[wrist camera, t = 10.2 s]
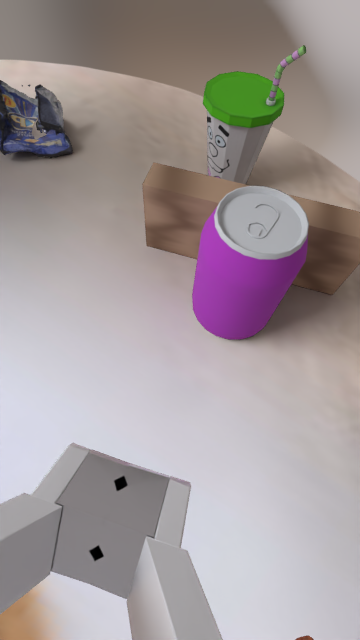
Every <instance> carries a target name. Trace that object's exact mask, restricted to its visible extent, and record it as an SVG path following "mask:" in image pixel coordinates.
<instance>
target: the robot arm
mask: <svg viewBox="0 0 360 640" xmlns="http://www.w3.org/2000/svg"><path fill="white" fill-rule="evenodd" d="M190 489H191V484H190V482H187V481H184V480H181V479H178V478H175V477H172V476H170V478H169V476H168V475H165V474H162V473H159V472H156V471H153V470H150V469H146V468H143V467H140V466H137V465H134V464H131V463H128V462H125V461H122V460H120V459H117V458H114V457H111V456H109V455H106V454H103V453H100V452H98V451H95V450H90V449H88V448H85V447H82V446H80V445H77V444H75V443H72V444H70V445H69V446H67V448H66V449H65V450H64V452H63V453H62V454H61V456H60V457H59V458H58V459H57V461H56V462H55V463H54V465H53V466H52V467H51V469H50V470H49V471H48V473H47V474H46V475H45V477H44V478H43V479H42V481H41V482H40V483H39V484H38V486H37V487H36V488H35V490H34V491H33V492H32V494H31V495H29V494H26V493H23V494H21V495H18V496H16V497H14V498H12V499H10V500H8V501H6V502H3V503H1V504H0V614H1V613H2V612H4V611H5V610H6V609H7V608H9V607H10V606H11V605H12V604H14V603H15V602H16V601H17V600H18V599H20V598H21V597H22V596H23V595H25V594H26V593H27V592H28V591H30V590H31V589H32V588H33V587H35V586H36V585H37V584H38V583H40V582H41V581H42V580H43V579H45V578H46V577H47V576H48V575H49V574H50V571H52V572H55V573H58V574H61V575H64V576H67V577H70V578H73V579H76V580H79V581H82V582H85V583H88V584H89V583H90V584H91V585H93V586H96V587H98V588H100V589H103V590H105V591H108V592H110V593H113V594H115V595H118V596H120V597H122V598H125V599H127V608H128V614H129V621H130V627H131V634H132V640H223V639H222V637H221V634H220V632H219V629H218V627H217V624H216V622H215V619H214V617H213V614H212V612H211V609H210V606H209V604H208V601H207V599H206V596H205V594H204V591H203V589H202V586H201V584H200V581H199V579H198V576H197V574H196V571H195V569H194V566H193V564H192V561H191V559H190V556H189V554H188V551H187V550H184V549H182V548H181V543H182V537H183V531H184V525H185V519H186V513H187V507H188V501H189V495H190Z"/></svg>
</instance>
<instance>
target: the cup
mask: <svg viewBox="0 0 360 640" xmlns="http://www.w3.org/2000/svg"><path fill="white" fill-rule="evenodd" d="M305 53H306V47H305V46H304V45H303V46H302V47H301V48H299V49H298V50H296V51H295V52H294V53H292V54H291V55H289V56H288V57H287V58H285V59H284V60H283V61H281V62H280V64H279V65H278V67H277V70H276V73H275V77H274V80H273V81H271V80H269V79H267V78H265V77H262V76H260V75H258V74H252V73H245V72H238V71H237V72H231V73H224V74H219V75H217V76H216V77H215V78H213V79H211V80H210V81H208V82H207V84H206V88H205V92H204V98H203V105H204V106H205V108H206V109H207V147H208V176H212V177H216V178H221V179H225V180H229V181H233V182H237V183H242V184H246V183H247V180H248V178H249V176H250V174H251V171H252V169H253V167H254V165H255V162H256V160H257V158H258V155H259V153H260V151H261V149H262V146H263V144H264V142H265V140H266V137H267V135H268V133H269V131H270V128H271V126H272V124H273V121H274V120H275V119H277V118H278V117H279V116H280V115H281V112H282V109H283V106H284V93H283V91H282V90H281V89H280V88H279V87H278V85H279V82H280V78H281V75H282V71H283V70H284V68H285V67H286V66H287V65H289V64H290V63H291V62H293V61H294V60H296V59H297V58H299V57H300V56H302V55H303V54H305Z"/></svg>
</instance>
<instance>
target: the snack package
mask: <svg viewBox="0 0 360 640" xmlns="http://www.w3.org/2000/svg"><path fill="white" fill-rule="evenodd" d="M22 86H23V85H22ZM28 86H30V85H28ZM35 92H36V97H35V99H33V98H30V97H28V96H26V94H25V95H24V93H22V92H19V91H17V90H16V89H13V88H11V87H10V86H8V85H7V84H6V83H4V82H3V81H1V80H0V151H1V152H2V153H3V154H4V155H6V154H9V153H14V152H19V151H23V152H32V153H34V154H36V155H37V156H38V157H43V156H45V157H50V158H52V157H58V156H61V155H64V154H70V153H72V151H73V150H72V145H71V142H70V140H69V138H68V137H67V136H66V135H65V132H64V120H63V110H62V107H61V103H60V102H59V101H58V100H57V98H56V96H55V95H54V93H52V92H50V91H49V90H47V89H46V88H44V87H43V86H41V85H38V86H36V87H35ZM37 119H38V121H37V122H36V127H37V130H40V132H41V133H42V129H43V131H44V132H45V133H46V134H47V135H46V136H44V137H41V138H39V139H37V140H35V139H34V137H33V135H32V127H33V125H34V123H35V121H36V120H37Z"/></svg>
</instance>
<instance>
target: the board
mask: <svg viewBox="0 0 360 640" xmlns="http://www.w3.org/2000/svg"><path fill="white" fill-rule="evenodd" d="M142 185H143V199H144V213H145V228H146V242H147V246H150V247H153V248H157V249H161V250H165V251H168V252H172V253H176V254H180V255H184V256H187V257H191V258H195V259H198V252H199V245H200V238H201V233H202V230H203V227H204V225H205V222H206V221H207V219H208V218H209V217H210V215H211V214H212V213H213V211H214V210H215V209H216V207H217V206H218V204H219V202H220V201H221V200H222V199H223V198H224V197H225V195H226V194H228V193H230V192H231V191H233V190H235V189H237V188H242V187H246V186H250V185H246V184H242V183H237V182H233V181H229V180H225V179H221V178H216V177H212V176H208V175H204V174H200V173H196V172H191V171H187V170H183V169H179V168H175V167H171V166H166V165H162V164H158V163H153V165H152V167H151V169H150V171H149V172H148V174H147V176H146V178H145V180H144V182H143V184H142ZM289 196H291V197H292V198H293V199H294V200H296V201H297V202H298V203H299V204H300V205H301V207H302V208H303V210H304V211H305V213H306V215H307V218H308V222H309V228H308V246H307V254H306V261H305V263H304V264H303V266H302V268H301V269H300V271H299V272H298V274H297V276H296V277H295V279H294V281H293V282H292V284H293V285H297V286H300V287H304V288H308V289H312V290H315V291H319V292H323V293H327V294H330V295H333V294H334V292H335V291H336V290H337V289H338V288H339V287H340V285H341V284H342V283H343V282H344V281H345V280H346V279H347V277H348V276H349V275H350V274H351V273H352V272H353V270H354V269H355V268H356V267H357V266H358V265H359V264H360V212H358V211H354V210H350V209H346V208H342V207H338V206H333V205H329V204H325V203H321V202H317V201H313V200H308V199H304V198H300V197H296V196H292V195H289Z"/></svg>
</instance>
